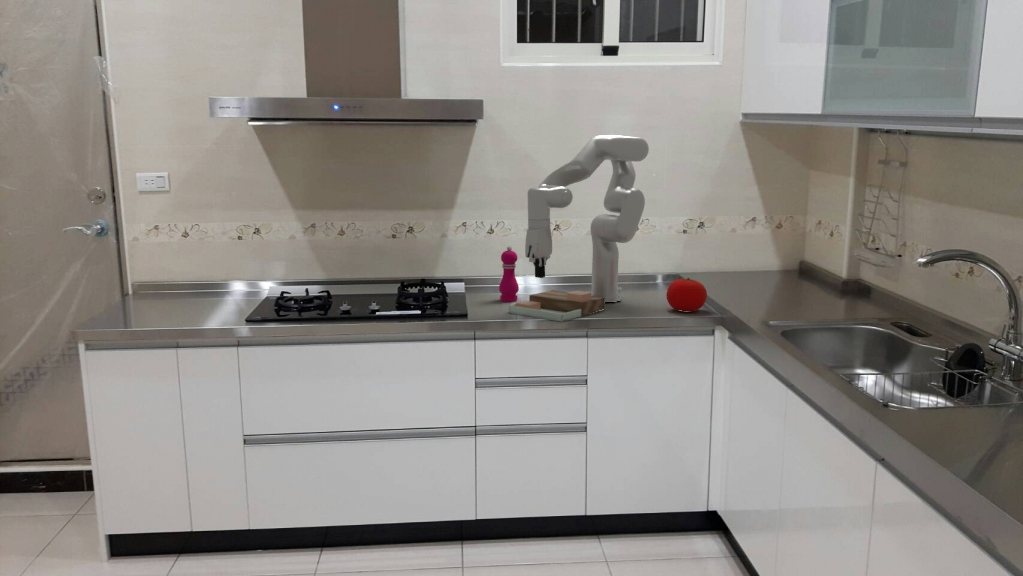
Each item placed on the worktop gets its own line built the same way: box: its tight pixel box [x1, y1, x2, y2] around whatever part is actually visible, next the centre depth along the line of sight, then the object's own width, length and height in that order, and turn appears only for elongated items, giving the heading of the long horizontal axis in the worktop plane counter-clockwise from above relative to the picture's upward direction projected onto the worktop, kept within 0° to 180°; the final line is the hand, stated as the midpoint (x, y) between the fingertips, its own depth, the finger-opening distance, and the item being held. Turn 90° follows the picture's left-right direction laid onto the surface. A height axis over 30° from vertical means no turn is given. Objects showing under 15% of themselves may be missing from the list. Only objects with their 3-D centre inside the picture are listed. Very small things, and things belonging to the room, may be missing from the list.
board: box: [528, 289, 605, 317], centre depth 278 cm, size 14×22×4 cm, turn 52°
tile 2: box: [567, 290, 591, 302], centre depth 271 cm, size 6×6×2 cm
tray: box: [508, 303, 582, 323], centre depth 268 cm, size 11×22×2 cm, turn 52°
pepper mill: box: [498, 245, 520, 303], centre depth 291 cm, size 7×7×20 cm
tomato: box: [665, 277, 708, 312], centre depth 276 cm, size 13×14×12 cm
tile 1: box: [515, 300, 541, 310], centre depth 272 cm, size 6×6×2 cm
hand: (540, 277), depth 275 cm, fingers closed
